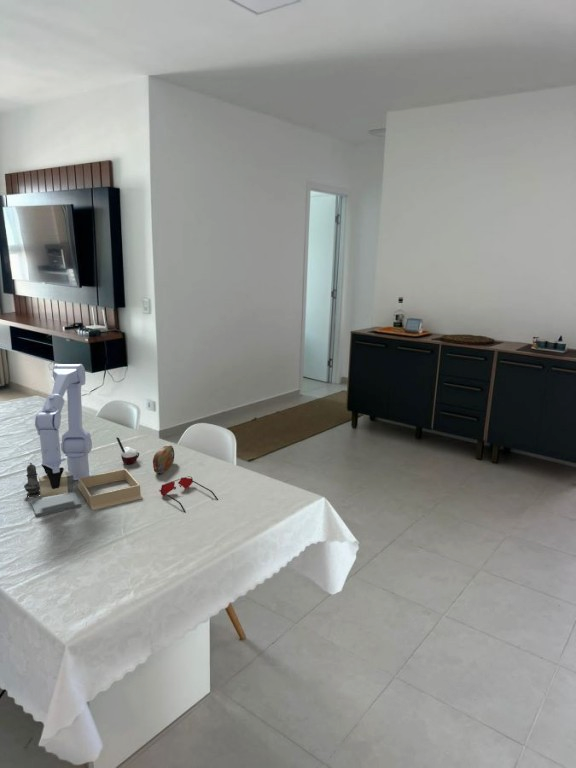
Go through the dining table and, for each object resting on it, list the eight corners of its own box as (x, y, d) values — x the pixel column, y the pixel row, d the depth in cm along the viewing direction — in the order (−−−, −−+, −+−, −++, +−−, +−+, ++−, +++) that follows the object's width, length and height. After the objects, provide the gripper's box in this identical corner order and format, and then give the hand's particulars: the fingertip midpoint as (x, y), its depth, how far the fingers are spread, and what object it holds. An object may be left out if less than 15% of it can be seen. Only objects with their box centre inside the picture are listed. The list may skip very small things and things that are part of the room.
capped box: (40, 493, 177) (38, 476, 175) (71, 487, 182) (70, 471, 181) (42, 497, 174) (40, 480, 172) (74, 491, 179) (73, 475, 178)
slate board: (31, 504, 179) (31, 501, 179) (74, 494, 186) (74, 492, 186) (36, 516, 171) (35, 514, 171) (81, 506, 178) (81, 503, 178)
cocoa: (138, 459, 220) (138, 431, 218) (141, 464, 214) (141, 436, 212) (114, 462, 215) (114, 434, 213) (117, 467, 210) (117, 438, 208)
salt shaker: (47, 492, 188) (43, 460, 185) (34, 499, 183) (30, 466, 180) (33, 489, 190) (30, 458, 187) (21, 496, 185) (17, 464, 182)
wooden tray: (77, 486, 193) (76, 475, 192) (124, 476, 203) (123, 466, 202) (92, 510, 176) (91, 499, 175) (143, 498, 185) (142, 487, 184)
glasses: (191, 485, 196) (191, 473, 195) (218, 500, 185) (218, 487, 183) (158, 497, 187) (158, 484, 186) (184, 513, 175) (184, 499, 174)
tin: (159, 477, 203) (158, 456, 201) (152, 476, 203) (150, 455, 201) (175, 462, 217) (174, 442, 215) (168, 461, 217) (167, 442, 215)
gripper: (68, 452, 170) (71, 490, 173) (59, 438, 182) (62, 475, 185) (44, 456, 166) (48, 495, 169) (36, 442, 178) (40, 479, 181)
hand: (54, 485), depth 177 cm, fingers closed on capped box, 4 cm apart
